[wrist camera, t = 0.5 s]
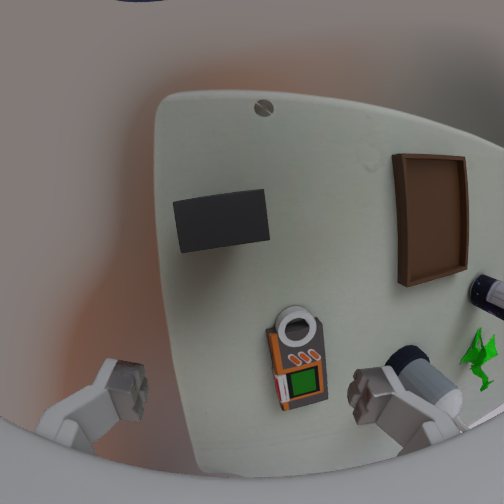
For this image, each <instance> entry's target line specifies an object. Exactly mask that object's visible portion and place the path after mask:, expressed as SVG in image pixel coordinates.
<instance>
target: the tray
mask: <svg viewBox="0 0 504 504" xmlns="http://www.w3.org/2000/svg"><path fill="white" fill-rule="evenodd" d="M392 160H393V169H394V178H395V189H396V202H397V220H398V283H400V284H401V285H403V286H405V287H410V286H414V285H417V284H421V283H424V282H428V281H431V280H435V279H438V278H441V277H445V276H448V275H451V274H454V273H458V272H461V271H464V270H467V264H468V246H469V199H468V182H467V170H466V161H465V157H462V156H449V155H431V154H396V155H392Z"/></svg>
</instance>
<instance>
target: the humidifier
mask: <svg viewBox="0 0 504 504" xmlns="http://www.w3.org/2000/svg"><path fill="white" fill-rule="evenodd" d="M385 366H391V367H392V368H393V370H394V372H395V373H396V375H397V377H398V378H399V380H400V382H401V383H402V385H403V387H404V388H405V390H406V391H410V392H412V393H414V394H415V395H417V396H419V397H421V398H422V399H424V400H426V401H427V402H429V403H431V404H433V405H434V406H436V407H438V408H440V409H441V410H443V411H445V412H447V413H448V414H449V415H450V416H451V418H452V420H453V421H454V423H455V425H456V426H457V427H458V428H459V429H460V430H461V431H462V432H465V431H467V430H469V428H468V427H467V426H466V425H465V424H464V423H463V422H462V421H461V420H460V419H459V416H458V415H459V412H460V410H461V406H462V393H461V391H460V390H459V388H458V387H457V386H456V385H455V384H453V383H452V382H451V381H450V380H449V379H448V378H446V377H445V376H444V375H443V374H442V373H441V372H440V371H438V370H437V369H436V368H435V367H434V366H432V365H431V364H430V361H429V358H428V357H427V355H426V354H425V353H424V352H423V351H422V350H420V349H419V348H418V347H417V346H413V345H409V346H405V347H403V348H401V349H399V350H398V351H397V352H395V353H394V354H393V355H392V356H391V357H390V358H389V360H388V361H387V363H386V364H385Z"/></svg>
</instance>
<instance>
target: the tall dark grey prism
mask: <svg viewBox="0 0 504 504" xmlns="http://www.w3.org/2000/svg"><path fill="white" fill-rule="evenodd" d="M173 207H174V214H175V221H176V227H177V233H178V239H179V245H180V251H181V253H187V252H193V251H200V250H206V249H213V248H219V247H226V246H233V245H240V244H246V243H253V242H260V241H267V240H270V236H269V227H268V219H267V210H266V203H265V194H264V189H258V190H248V191H240V192H232V193H225V194H218V195H211V196H205V197H198V198H192V199H186V200H181V201H176V202H173Z"/></svg>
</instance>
